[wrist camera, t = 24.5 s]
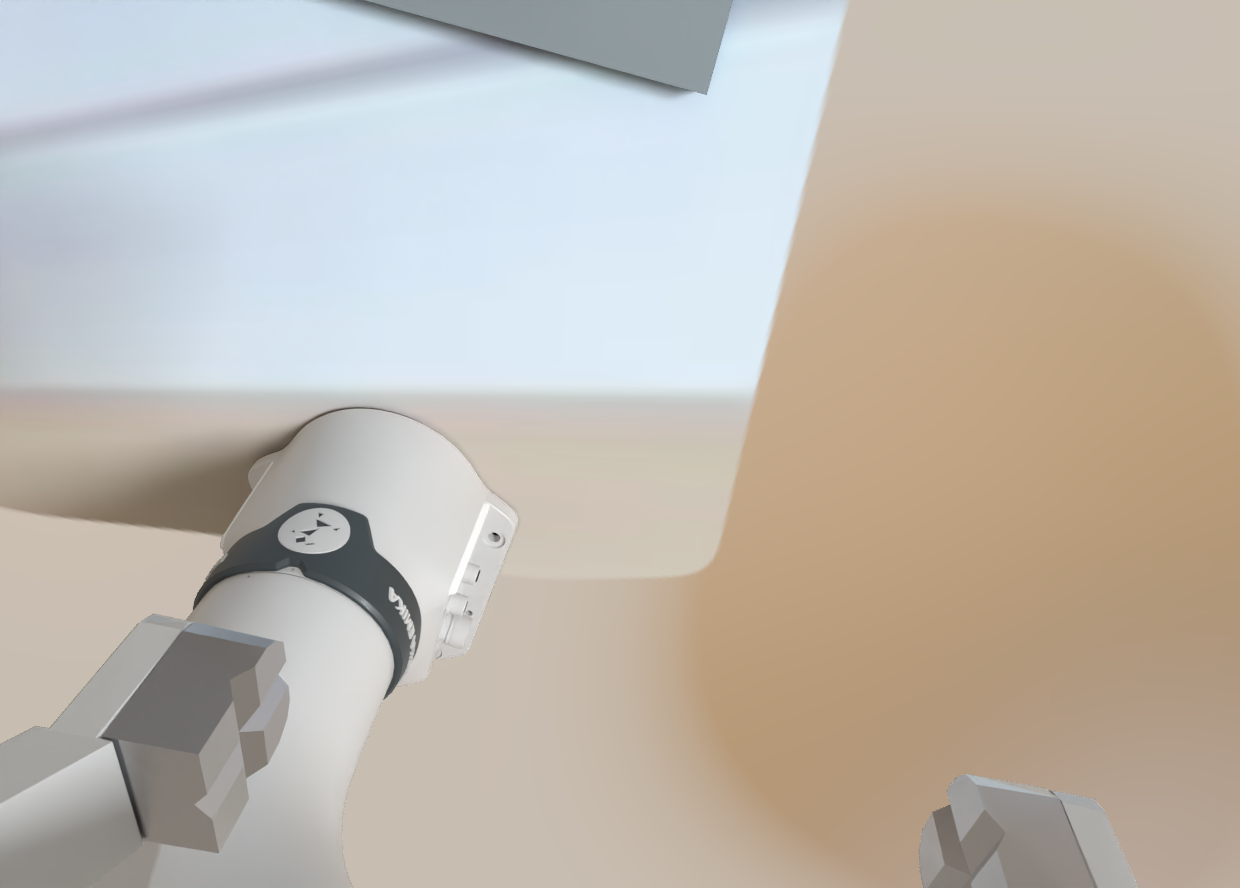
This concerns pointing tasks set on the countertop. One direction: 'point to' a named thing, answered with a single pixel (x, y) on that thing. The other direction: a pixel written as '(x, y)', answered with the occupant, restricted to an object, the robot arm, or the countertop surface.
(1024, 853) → the robot arm
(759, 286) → the countertop surface
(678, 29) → the lid
